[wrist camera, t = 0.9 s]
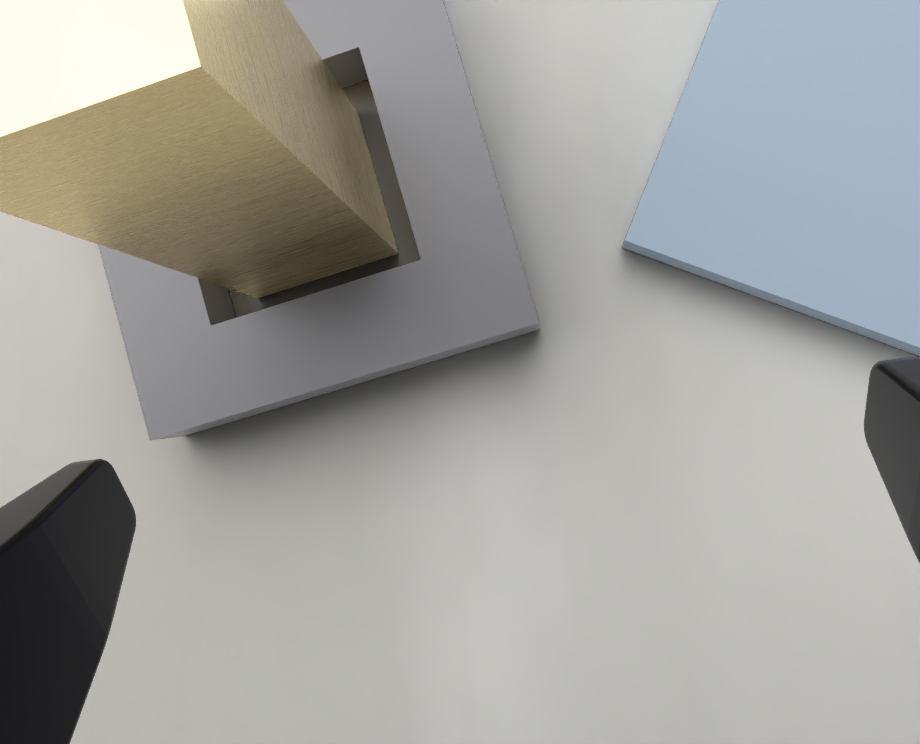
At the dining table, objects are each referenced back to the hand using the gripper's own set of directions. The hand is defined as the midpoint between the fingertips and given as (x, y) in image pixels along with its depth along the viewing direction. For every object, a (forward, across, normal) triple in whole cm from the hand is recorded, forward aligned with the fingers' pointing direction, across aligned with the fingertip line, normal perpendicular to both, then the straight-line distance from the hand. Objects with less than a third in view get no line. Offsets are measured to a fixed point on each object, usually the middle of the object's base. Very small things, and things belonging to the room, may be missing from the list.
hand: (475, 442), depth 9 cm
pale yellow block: (+15, +5, +2) cm, 16 cm away
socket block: (+15, +5, +2) cm, 16 cm away
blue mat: (+15, -12, +2) cm, 19 cm away
